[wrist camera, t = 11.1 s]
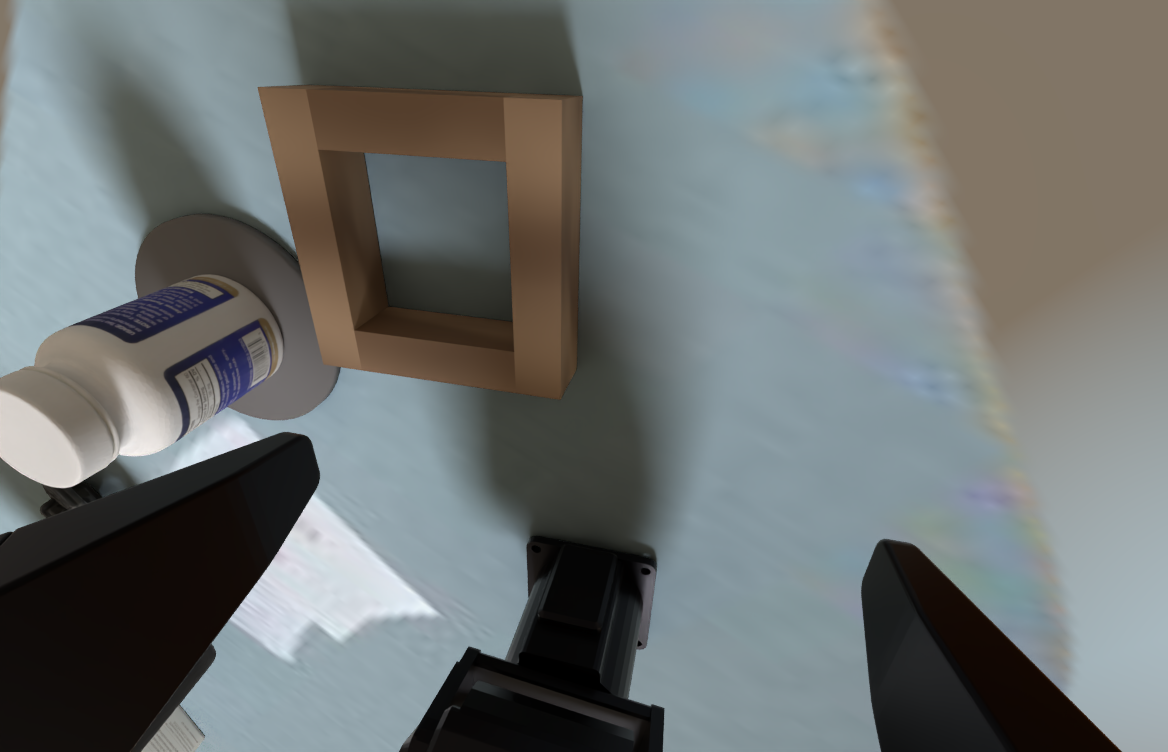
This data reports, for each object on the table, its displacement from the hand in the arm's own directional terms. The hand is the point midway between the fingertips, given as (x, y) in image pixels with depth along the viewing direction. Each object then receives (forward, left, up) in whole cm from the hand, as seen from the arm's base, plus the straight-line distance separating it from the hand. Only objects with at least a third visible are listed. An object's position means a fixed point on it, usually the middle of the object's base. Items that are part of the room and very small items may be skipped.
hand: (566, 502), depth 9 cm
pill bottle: (-5, +19, -13) cm, 23 cm away
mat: (-5, +19, -13) cm, 24 cm away
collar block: (0, +8, -13) cm, 15 cm away
